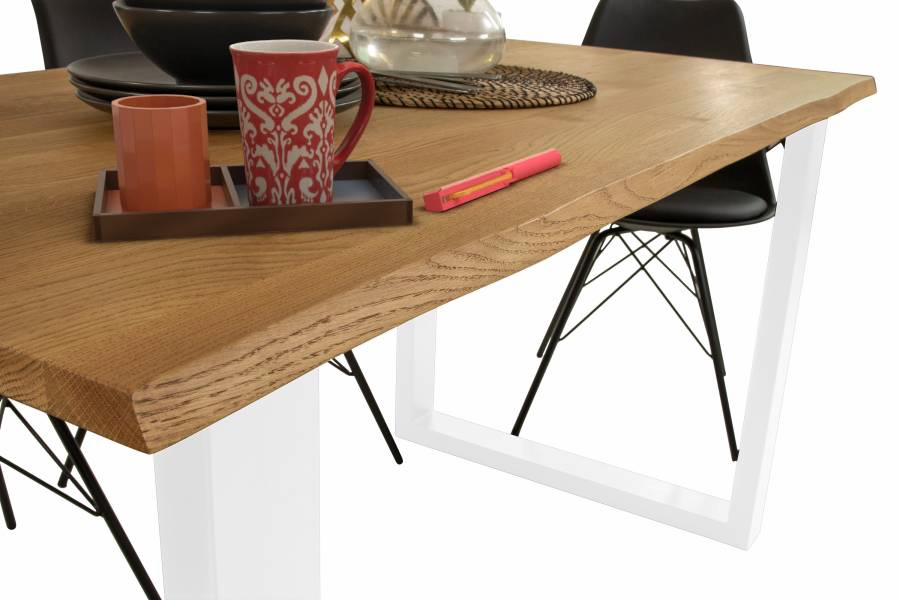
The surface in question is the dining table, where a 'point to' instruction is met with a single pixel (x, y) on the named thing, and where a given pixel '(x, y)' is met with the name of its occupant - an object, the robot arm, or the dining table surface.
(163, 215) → the tray
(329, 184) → the mug
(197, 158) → the terracotta cup
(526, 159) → the pink highlighter pen
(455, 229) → the dining table surface
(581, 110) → the dining table surface
